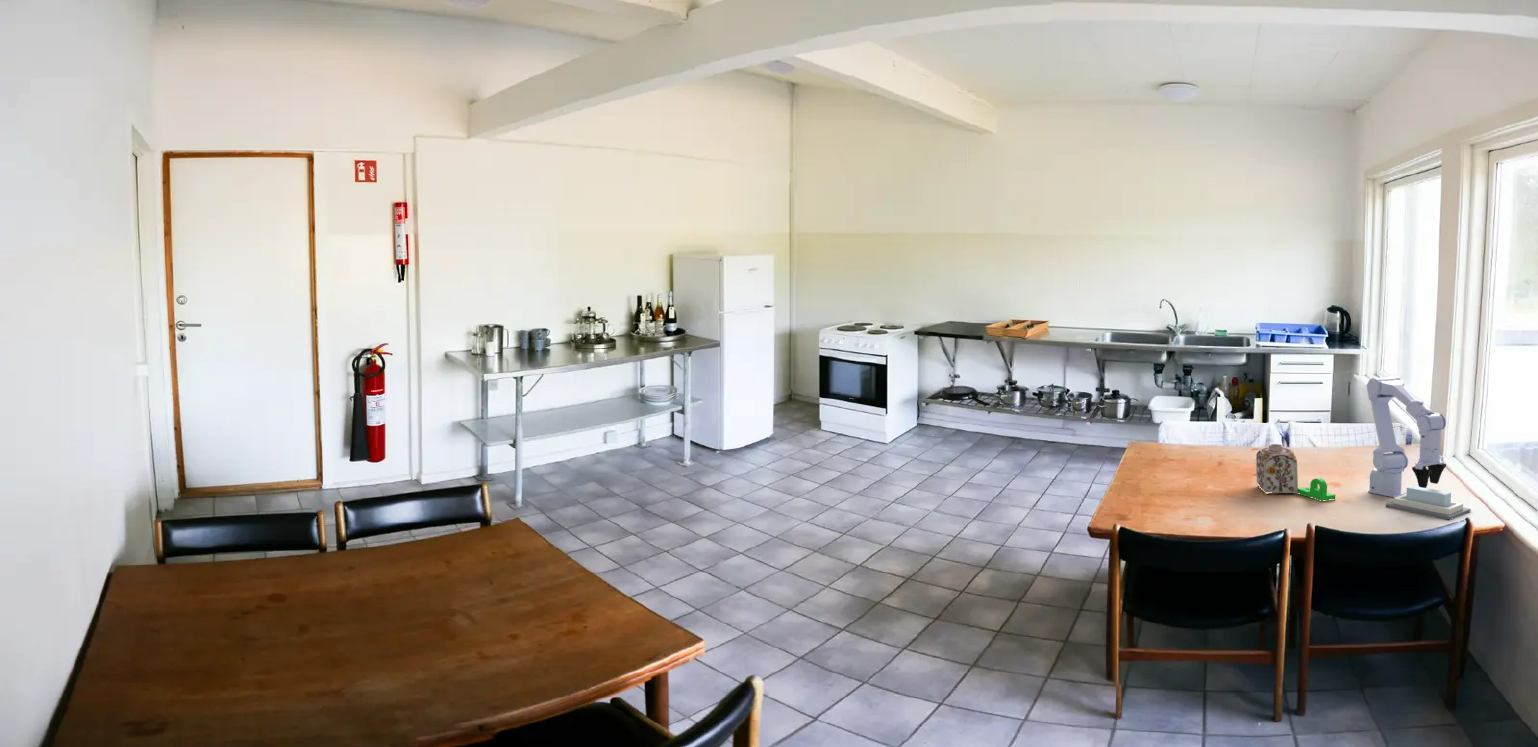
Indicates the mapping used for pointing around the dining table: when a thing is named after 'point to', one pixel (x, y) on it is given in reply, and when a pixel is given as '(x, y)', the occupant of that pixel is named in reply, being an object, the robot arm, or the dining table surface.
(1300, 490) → the mechanical part
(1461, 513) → the cradle jig
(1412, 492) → the block
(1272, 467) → the decorative jar
